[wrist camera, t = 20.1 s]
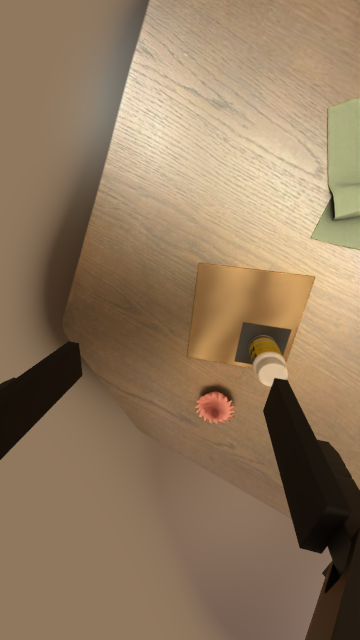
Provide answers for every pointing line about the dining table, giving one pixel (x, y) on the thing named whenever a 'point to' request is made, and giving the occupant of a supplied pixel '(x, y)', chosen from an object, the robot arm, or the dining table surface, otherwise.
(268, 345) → the supplement bottle
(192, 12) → the dining table surface
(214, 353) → the board
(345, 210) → the cloth
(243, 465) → the dining table surface
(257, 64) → the dining table surface
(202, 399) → the pink ruffled round piece
